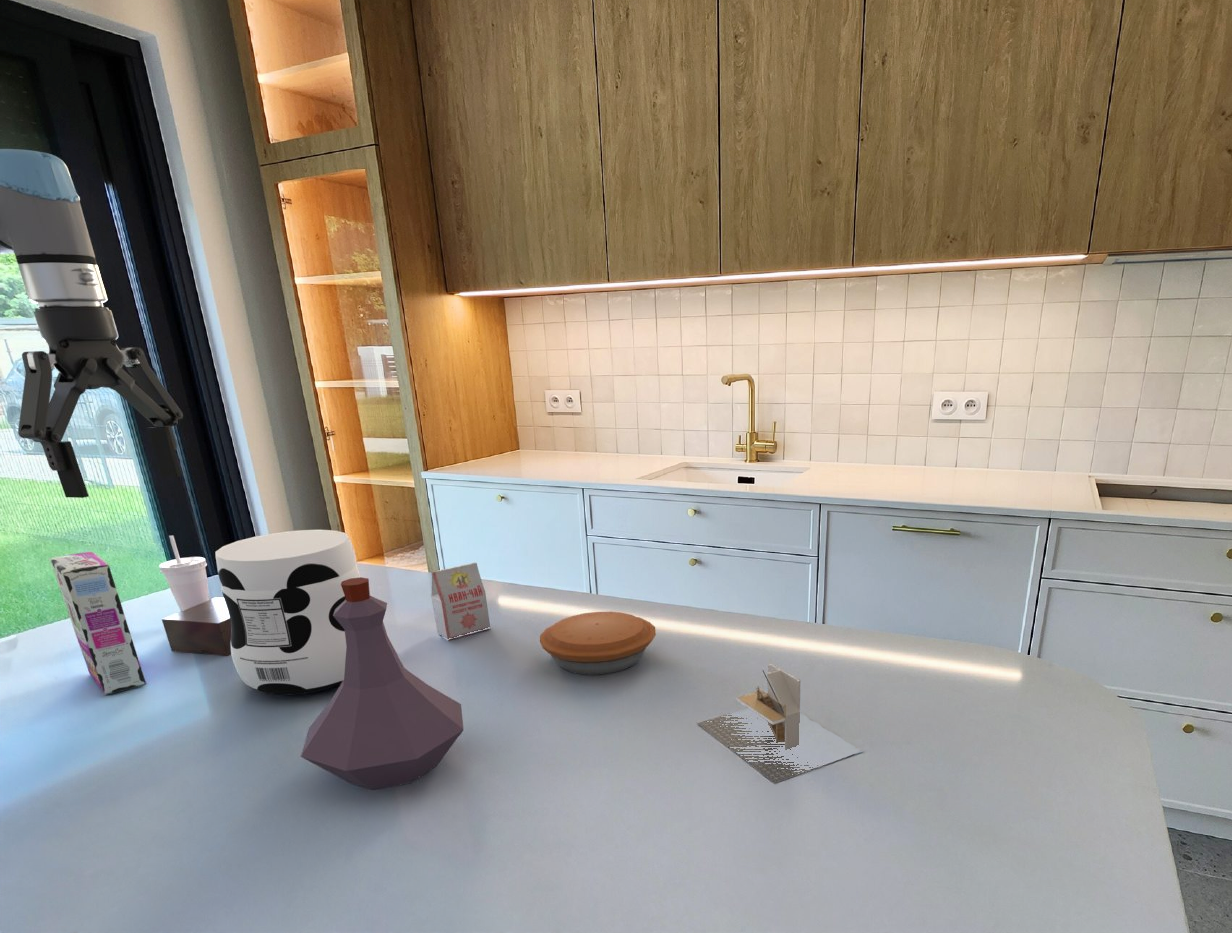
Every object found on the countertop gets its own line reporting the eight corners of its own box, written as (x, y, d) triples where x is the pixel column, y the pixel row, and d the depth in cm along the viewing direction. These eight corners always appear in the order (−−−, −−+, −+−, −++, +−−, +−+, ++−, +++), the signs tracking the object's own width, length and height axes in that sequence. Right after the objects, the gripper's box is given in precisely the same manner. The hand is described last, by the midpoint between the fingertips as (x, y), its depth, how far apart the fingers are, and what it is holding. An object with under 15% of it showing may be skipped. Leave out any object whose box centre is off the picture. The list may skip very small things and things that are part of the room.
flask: (287, 763, 83) (238, 582, 75) (436, 714, 93) (406, 548, 85) (337, 831, 72) (285, 624, 64) (501, 767, 81) (474, 580, 73)
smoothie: (166, 626, 125) (139, 539, 119) (198, 612, 130) (174, 529, 125) (200, 628, 123) (174, 540, 118) (231, 614, 129) (207, 530, 124)
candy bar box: (150, 684, 104) (110, 564, 97) (104, 697, 100) (60, 573, 94) (131, 662, 111) (92, 549, 105) (88, 673, 108) (46, 556, 101)
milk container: (367, 643, 115) (342, 521, 108) (400, 681, 102) (374, 545, 95) (234, 673, 106) (197, 542, 99) (251, 720, 93) (210, 573, 86)
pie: (524, 679, 101) (520, 643, 99) (564, 635, 115) (560, 603, 113) (641, 685, 99) (639, 648, 97) (667, 639, 113) (665, 606, 111)
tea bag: (437, 634, 118) (426, 569, 114) (479, 623, 121) (470, 560, 118) (447, 640, 115) (436, 574, 111) (490, 629, 119) (481, 565, 115)
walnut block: (171, 651, 115) (161, 619, 113) (225, 627, 123) (216, 596, 121) (227, 656, 112) (218, 623, 110) (278, 631, 121) (270, 600, 119)
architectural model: (773, 754, 82) (774, 689, 79) (737, 727, 87) (736, 666, 84) (800, 745, 83) (801, 681, 80) (762, 719, 89) (763, 659, 86)
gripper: (-17, 302, 81) (55, 507, 90) (184, 305, 103) (227, 469, 112) (-70, 305, 83) (5, 506, 91) (139, 307, 105) (184, 469, 113)
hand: (127, 486), depth 102 cm, fingers open, 13 cm apart
